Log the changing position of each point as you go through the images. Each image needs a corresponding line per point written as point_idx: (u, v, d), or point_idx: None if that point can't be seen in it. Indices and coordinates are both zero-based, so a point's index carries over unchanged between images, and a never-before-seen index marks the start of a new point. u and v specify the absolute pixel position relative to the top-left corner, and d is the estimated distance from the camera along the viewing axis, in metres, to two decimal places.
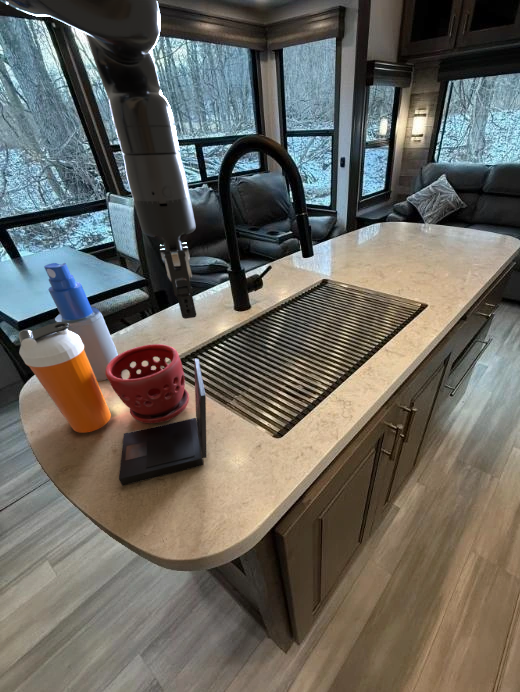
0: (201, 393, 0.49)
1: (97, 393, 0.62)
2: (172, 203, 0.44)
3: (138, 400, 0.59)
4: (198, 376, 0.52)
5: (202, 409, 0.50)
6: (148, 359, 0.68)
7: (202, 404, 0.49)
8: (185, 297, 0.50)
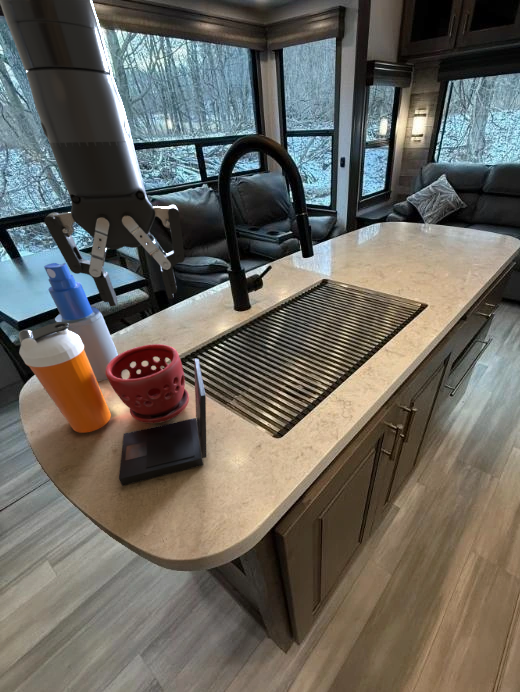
0: (201, 393, 0.49)
1: (97, 393, 0.62)
2: (51, 147, 0.32)
3: (138, 400, 0.59)
4: (198, 376, 0.52)
5: (202, 409, 0.50)
6: (148, 359, 0.68)
7: (202, 404, 0.49)
8: None
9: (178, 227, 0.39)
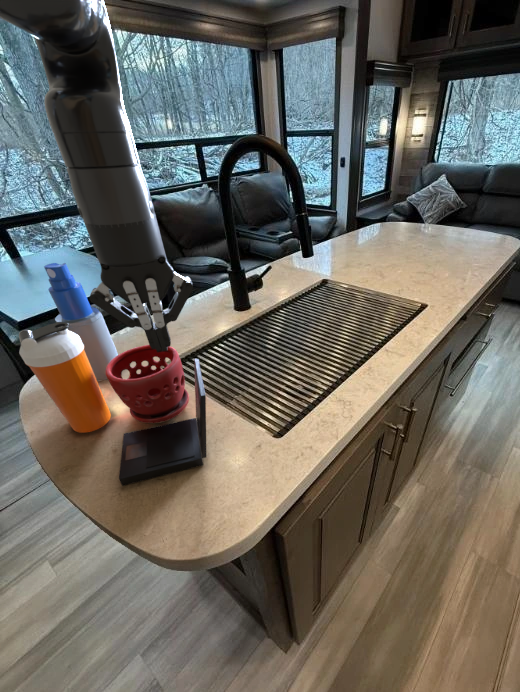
0: (201, 393, 0.49)
1: (97, 393, 0.62)
2: None
3: (138, 400, 0.59)
4: (198, 376, 0.52)
5: (202, 409, 0.50)
6: (148, 359, 0.68)
7: (202, 404, 0.49)
8: None
9: (185, 297, 0.44)
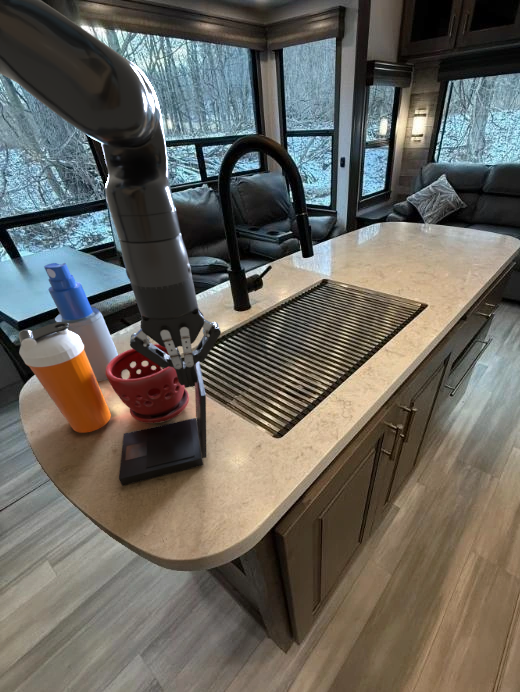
0: (201, 393, 0.49)
1: (97, 393, 0.62)
2: (132, 286, 0.41)
3: (138, 400, 0.59)
4: (198, 376, 0.52)
5: (202, 409, 0.50)
6: (148, 359, 0.68)
7: (202, 404, 0.49)
8: None
9: (213, 341, 0.49)
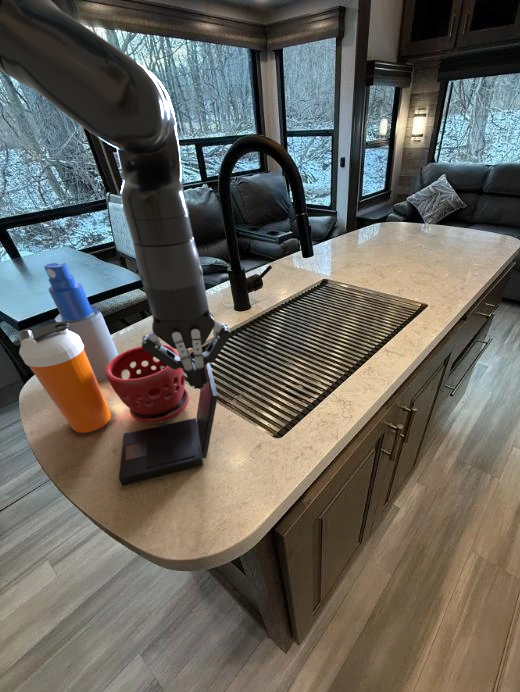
0: (213, 393, 0.50)
1: (97, 393, 0.62)
2: (145, 288, 0.42)
3: (138, 400, 0.59)
4: (209, 376, 0.53)
5: (212, 409, 0.51)
6: (148, 359, 0.68)
7: (213, 404, 0.50)
8: None
9: (223, 342, 0.49)
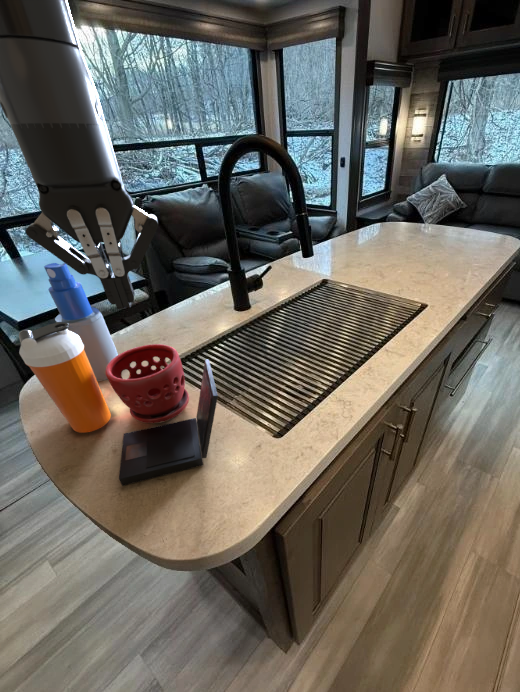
0: (213, 393, 0.50)
1: (97, 393, 0.62)
2: None
3: (138, 400, 0.59)
4: (209, 376, 0.53)
5: (212, 409, 0.51)
6: (148, 359, 0.68)
7: (213, 404, 0.50)
8: None
9: (149, 238, 0.36)
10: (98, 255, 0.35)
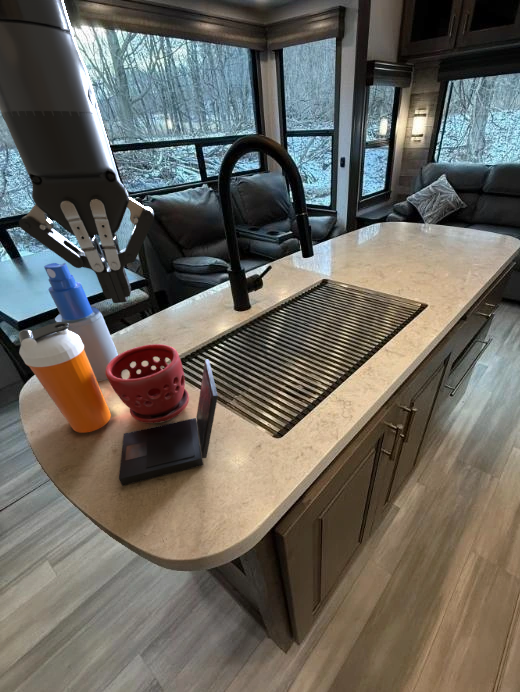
0: (213, 393, 0.50)
1: (97, 393, 0.62)
2: (4, 118, 0.28)
3: (138, 400, 0.59)
4: (209, 376, 0.53)
5: (212, 409, 0.51)
6: (148, 359, 0.68)
7: (213, 404, 0.50)
8: None
9: (145, 230, 0.35)
10: (93, 248, 0.35)
